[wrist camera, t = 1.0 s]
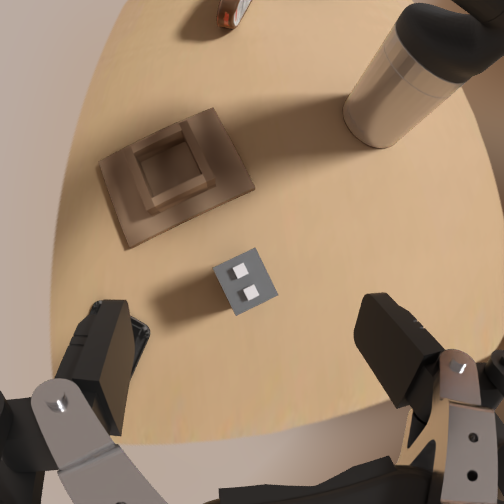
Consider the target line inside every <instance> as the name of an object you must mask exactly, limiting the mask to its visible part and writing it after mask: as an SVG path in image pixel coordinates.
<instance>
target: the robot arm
mask: <svg viewBox="0 0 504 504" xmlns="http://www.w3.org/2000/svg"><path fill="white" fill-rule="evenodd" d="M452 1H453V2H455V3H456V4H457V5H459V6H460V7H461V8H463V9H464V10H465V11H467V12H468V13H469V14H470V15H469V14H460V13H455V12H452V11H448V10H445V9H443V8H440V7H437V6H434V5H430V4H424V3H414V4H411V5H409V6H408V7H406V8H405V9H404V11H403V12H402V13H401V15H400V16H399V18H398V20H397V21H396V23H395V24H394V26H393V28H392V29H391V31H390V32H389V34H388V35H387V37H386V39H385V40H384V42H383V43H382V45H381V47H380V48H379V50H378V51H377V53H376V54H375V56H374V58H373V59H372V61H371V62H370V64H369V65H368V67H367V68H366V70H365V72H364V73H363V75H362V76H361V78H360V79H359V81H358V83H357V84H356V86H355V87H354V89H353V90H352V92H351V93H350V95H349V97H348V98H347V100H346V102H345V103H344V107H343V116H344V119H345V122H346V124H347V126H348V128H349V129H350V131H351V132H352V133H353V134H354V135H355V136H356V137H357V138H358V139H359V140H361V141H362V142H363V143H365V144H367V145H369V146H373V147H376V148H387V147H390V146H392V145H394V144H395V143H396V142H397V141H398V140H400V139H401V138H402V137H403V136H404V135H406V134H407V133H408V132H409V131H410V130H411V129H413V128H414V127H415V126H416V125H417V124H418V123H420V122H421V121H422V120H423V119H424V118H425V117H427V116H428V115H429V114H430V113H431V112H432V111H433V110H435V109H436V108H437V107H438V106H439V105H440V104H442V103H443V102H444V101H445V100H446V99H447V98H448V97H450V96H451V95H452V94H453V93H454V92H455V91H456V90H457V89H459V88H460V87H461V86H462V85H463V84H464V83H465V82H467V81H468V80H469V79H470V78H471V77H472V76H475V75H477V74H480V73H481V72H483V71H484V70H486V69H487V68H488V67H489V66H491V65H492V64H493V63H495V62H496V61H497V60H498V59H500V58H501V57H502V56H504V0H452ZM354 341H355V344H356V346H357V348H358V349H359V351H360V352H361V354H362V355H363V357H364V359H365V360H366V362H367V363H368V365H369V366H370V368H371V369H372V371H373V372H374V374H375V376H376V377H377V379H378V380H379V382H380V383H381V385H382V387H383V388H384V390H385V391H386V393H387V394H388V396H389V398H390V399H391V401H392V402H393V404H394V405H395V407H396V408H397V409H398V408H401V407H404V406H407V405H410V406H411V407H412V408H411V410H410V412H409V414H408V418H407V423H406V430H405V434H404V440H403V445H402V449H401V454H400V457H399V460H398V462H397V464H396V465H394V464H393V462H392V460H391V458H390V457H389V456H386V457H383V458H380V459H377V460H374V461H370V462H367V463H364V464H360V465H357V466H354V467H352V468H350V469H348V470H346V471H345V472H342V473H340V474H339V475H337V476H335V477H333V478H331V479H329V480H327V481H325V482H323V483H321V484H319V485H316V486H284V485H267V484H265V485H256V486H246V487H235V488H221V489H219V499H216V500H212V501H209V502H206V503H204V504H504V501H501V500H498V499H497V488H498V487H499V489H500V490H501V492H502V494H503V496H504V424H503V423H502V421H501V420H500V418H499V417H498V416H497V414H496V413H495V412H494V411H495V409H496V408H497V407H498V405H499V404H500V402H501V401H502V400H503V398H504V350H495V351H494V352H493V353H492V354H491V356H490V358H489V360H488V362H487V363H475V361H474V360H473V359H472V358H471V357H470V356H469V355H468V354H466V353H464V352H462V351H460V350H456V349H448V350H445V349H444V348H443V347H442V346H441V345H440V344H439V343H438V342H437V340H436V339H435V338H434V337H433V336H432V335H431V334H430V333H429V332H428V331H427V330H426V329H425V328H423V326H422V325H421V323H420V322H419V321H418V322H417V319H416V318H415V317H414V316H413V315H412V314H411V313H410V312H409V311H407V310H406V309H404V308H402V307H401V306H399V305H398V304H397V303H396V302H395V301H394V300H393V299H392V298H391V297H390V296H389V295H388V294H387V293H371V294H366V295H365V296H364V297H363V299H362V303H361V307H360V310H359V314H358V318H357V321H356V325H355V328H354ZM69 344H70V346H68V348H67V350H66V352H65V355H64V357H63V359H62V362H61V364H60V366H59V369H58V371H57V374H56V376H55V378H54V379H51V380H48V381H46V382H44V383H42V384H40V385H39V386H38V387H37V388H36V389H35V391H34V393H33V394H32V397H29V398H22V399H11V400H6V399H5V397H4V396H3V394H2V392H1V391H0V504H41V496H42V489H43V482H44V475H45V471H49V470H59V471H58V476H59V478H60V480H61V482H62V484H63V486H64V488H65V490H66V491H67V493H68V495H69V496H70V498H71V500H72V502H73V503H74V504H168V503H167V502H166V501H165V500H164V499H163V498H162V497H161V496H160V495H159V494H158V493H157V491H156V490H155V489H154V488H153V487H152V486H151V484H150V483H149V482H148V481H147V480H146V479H145V477H144V476H143V475H142V474H141V473H140V471H139V470H138V469H137V468H136V466H135V465H134V464H133V463H132V462H131V460H130V459H129V457H128V456H127V455H126V454H125V452H124V451H123V450H122V449H121V447H120V446H119V445H118V444H115V443H114V442H113V440H112V439H111V438H110V435H113V436H121V434H122V427H123V420H124V413H125V406H126V400H127V394H128V388H129V382H130V377H131V371H132V366H133V361H134V355H135V343H134V336H133V330H132V325H131V319H130V313H129V306H128V303H127V301H126V300H103V302H102V304H101V306H100V308H99V311H98V313H97V315H91V314H89V315H88V316H87V317H86V318H84V319H83V320H82V321H81V322H80V323H79V324H78V326H77V328H76V330H75V332H74V337H72V339H71V341H70V343H69Z"/></svg>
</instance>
